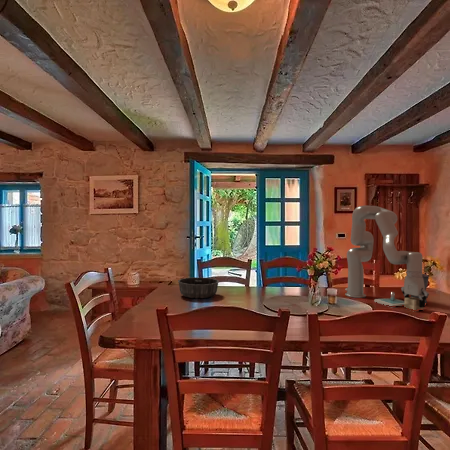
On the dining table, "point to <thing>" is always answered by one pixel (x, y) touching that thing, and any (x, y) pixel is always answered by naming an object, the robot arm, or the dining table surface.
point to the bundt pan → (198, 287)
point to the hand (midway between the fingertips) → (414, 305)
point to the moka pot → (425, 278)
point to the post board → (390, 302)
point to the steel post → (392, 296)
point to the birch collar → (412, 303)
